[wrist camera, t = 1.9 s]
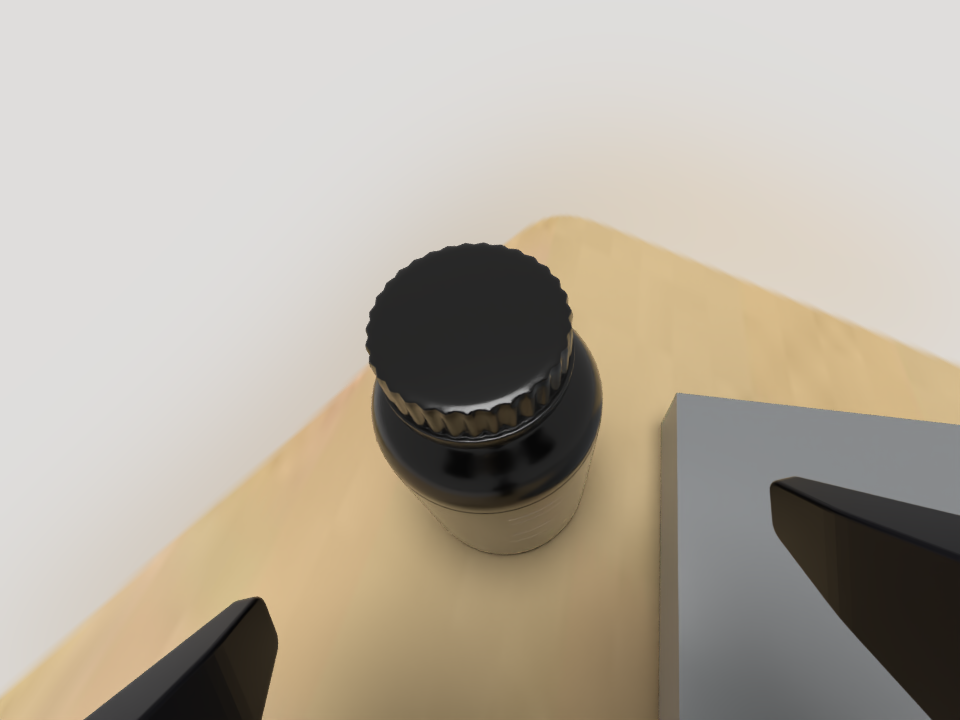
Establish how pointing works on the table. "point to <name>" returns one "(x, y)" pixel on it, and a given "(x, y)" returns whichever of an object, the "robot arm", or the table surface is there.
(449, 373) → the supplement bottle
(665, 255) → the table surface
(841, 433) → the riser block
